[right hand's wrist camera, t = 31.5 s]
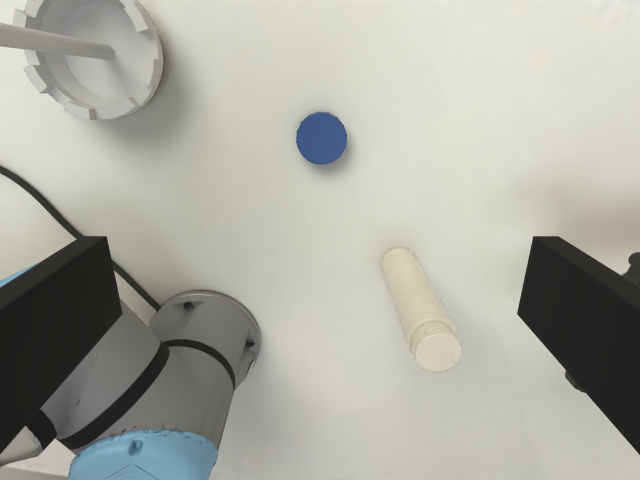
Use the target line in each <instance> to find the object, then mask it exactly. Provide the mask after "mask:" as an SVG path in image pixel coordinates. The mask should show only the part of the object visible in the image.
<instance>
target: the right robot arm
mask: <svg viewBox="0 0 640 480" xmlns="http://www.w3.org/2000/svg"><path fill="white" fill-rule="evenodd" d="M0 173H1V174H3V175H5V176H6V177H8V178H10V179H11V180H13V181H14V182H16V183H17V184H18V185H20V186H21V187H22V188H24V189H25V190H26V191H27V192H29V193H30V194H31V195H32V196H33V197H34V198H35V199H36V200H37V201H38V202H39V203H40V204H41V205H42V206H43V207H44V208H45V209H46V210H47V211H48V212H49V213H50V214H51V215H52V216H53V217H54V218H55V219H56V220H57V221H58V222H59V223H60V224H61V225H62V226H63V227H64V228H65V229H66V230H67V231H68V232H69V233H70V234H71V235H73V236H74V237H75V238H76V239H77V240H75V241H74V242H72V243H70V244H69V245H67V246H66V247H64V248H62V249H61V250H59V251H58V252H56V253H54V254H53V255H51V256H50V257H48V258H46V259H45V260H43V261H42V262H40V263H37V264H35V265H33V266H30V267H28V268H26V269H24V270H22V271H20V272H18V273H16V274H14V275H12V276H10V277H8V278H6V279H4V280H2V281H0V467H2V466H4V465H7V464H9V463H12V462H16V461H21V460H25V459H29V458H33V457H37V456H39V455H40V454H41V453H42V452H43V450H44V449H45V448H46V447H47V446H48V445H49V444H50V443H51V442H52V441H53V440H54V439H57V440H58V441H59V442H61V443H62V444H63V445H64V446H66V447H67V448H68V449H69V450H70V451H72V452H73V453H74V454H75V455H76V457H75V458H74V459H73V460H72V463H71V464H70V471H69V474H68V480H208V479H209V476H210V473H211V471H212V468H213V466H214V465H215V463H216V461H217V456H218V450H219V446H220V443H221V439H222V435H223V431H224V427H225V424H226V420H227V416H228V412H229V408H230V405H231V401H232V397H233V393H234V391H235V390H236V388H237V387H238V386H239V385H240V383H241V382H242V381H243V380H244V379H245V380H244V382H245V381H246V379H247V378H248V377H249V374H250V372H251V370H252V368H253V366H254V364H255V362H256V360H257V357H258V353H259V349H260V332H259V328H258V325H257V323H256V321H255V319H254V318H253V316H252V315H251V313H250V312H249V311H248V310H247V309H246V308H245V307H244V306H243V305H242V304H241V303H239V302H238V301H236V300H235V299H233V298H231V297H229V296H227V295H225V294H222V293H219V292H215V291H209V290H191V291H186V292H182V293H180V294H177V295H175V296H173V297H171V298H170V299H168V300H167V301H166V302H164V303H163V304H162V305H161V306H160V305H159V304H158V303H157V302H155V301H154V300H153V299H152V298H151V297H150V296H149V295H148V294H147V293H146V292H145V291H144V290H143V289H142V288H141V287H140V286H139V285H138V284H137V283H136V282H135V281H134V280H133V279H132V278H131V277H130V276H129V275H128V274H127V273H126V272H125V271H123V270H122V269H121V268H120V267H119V266H118V265H117V264H115V263H114V262H113V261H112V260H111V255H110V250H109V245H108V241H107V236H82V235H81V234H80V233H78V232H77V231H76V230H75V229H74V228H73V227H72V226H71V225H70V224H69V223H68V222H67V221H65V219H64V218H63V217H62V216H61V215H60V214H59V213H58V212H57V211H56V210H55V209H54V208H53V207H52V206H51V205H50V204H49V203H48V202H47V201H46V200H45V199H44V198H43V197H42V196H41V195H40V194H39V193H38V192H37V191H36V190H35V189H34V188H32V187H31V186H30V185H29V184H28V183H26V182H25V181H24V180H22V179H21V178H20V177H18V176H17V175H15V174H14V173H12V172H10V171H9V170H7V169H5V168H3V167H1V166H0ZM114 270H115V271H116V272H117V273H118V274H119V275H120V276H121V277H122V278H123V279H125V280H126V281H127V282H128V283H129V284H130V285H131V286H132V287H133V288H134V289H135V290H136V291H137V292H138V293H139V294H140V295H141V296H142V297H143V298H144V299H145V300H146V301H147V302H148V303H149V304H150V305H151V306H152V307H153V308H154V309H155V310H157V312H156V313H155V314H154V316H153V318H152V320H151V322H150V324H149V327H147V326H146V325H145V324H144V323H143V322H142V321H141V320H140V319H139V318H138V316H137V315H136V314H135V313H134V312H133V311H132V310H131V309H130V308H129V307H128V306H127V305H126V304H125V303H124V302H123V301H122V300H121V299H120V298H119V293H118V288H117V284H116V279H115V274H114ZM517 314H518V315H519V317H520V318H521V319H522V320H523V321H524V322H525V323H526V325H527V326H528V327H529V328H530V329H531V330H532V332H533V333H534V334H535V335H536V336H537V337H538V338H539V340H540V341H541V342H542V343H543V344H544V345H545V346H546V348H547V349H548V350H549V351H550V352H551V353H552V354H553V356H554V357H555V358H556V359H557V360H558V361H559V363H560V364H561V365H562V366H563V367H564V368H565V369H566V371H567V372H568V373H569V374H570V375H571V376H572V377H573V379H574V380H575V381H576V382H577V383H578V384H579V385H580V387H581V388H582V389H583V390H584V391H585V392H586V394H587V395H588V396H589V397H590V398H591V399H592V400H593V402H594V403H595V404H596V405H597V406H598V407H599V408H600V410H601V411H602V412H603V413H604V414H605V415H606V416H607V418H608V419H609V420H610V421H611V422H612V423H613V425H614V426H615V427H616V428H617V429H618V430H619V431H620V433H621V434H622V435H623V436H624V437H625V438H626V439H627V441H628V442H629V443H630V444H631V445H632V446H633V447H634V449H635V450H636V451H637V452H638V453H639V454H640V287H639V286H637V285H635V284H634V283H632V282H631V281H629V280H627V279H626V278H624V277H623V276H621V275H619V274H618V273H616V272H614V271H613V270H611V269H610V268H608V267H606V266H605V265H603V264H602V263H600V262H598V261H597V260H595V259H594V258H592V257H590V256H589V255H587V254H586V253H584V252H582V251H581V250H579V249H578V248H576V247H574V246H573V245H571V244H570V243H568V242H566V241H565V240H563V239H562V238H560V237H558V236H533V241H532V245H531V250H530V255H529V260H528V265H527V269H526V274H525V279H524V284H523V288H522V293H521V298H520V303H519V308H518V312H517ZM245 377H246V378H245Z"/></svg>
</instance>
